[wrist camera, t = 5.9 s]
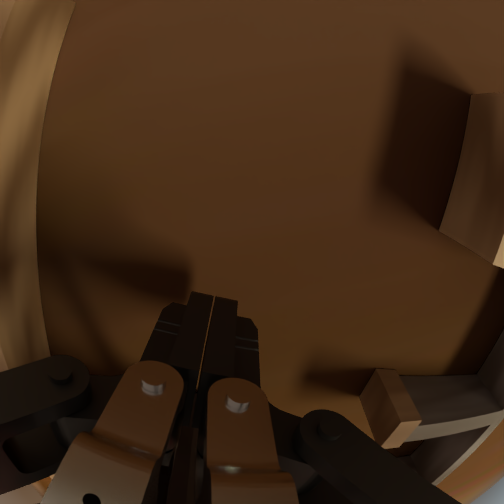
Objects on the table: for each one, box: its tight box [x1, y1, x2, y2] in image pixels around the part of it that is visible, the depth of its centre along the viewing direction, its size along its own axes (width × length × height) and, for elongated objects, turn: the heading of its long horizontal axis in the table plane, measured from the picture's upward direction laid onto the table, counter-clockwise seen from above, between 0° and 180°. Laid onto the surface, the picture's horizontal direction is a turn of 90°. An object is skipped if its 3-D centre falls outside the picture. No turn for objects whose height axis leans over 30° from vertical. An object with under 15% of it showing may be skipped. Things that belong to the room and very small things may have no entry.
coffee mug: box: [157, 394, 199, 504], centre depth 9 cm, size 12×9×10 cm
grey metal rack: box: [0, 0, 504, 486], centre depth 12 cm, size 30×27×4 cm
